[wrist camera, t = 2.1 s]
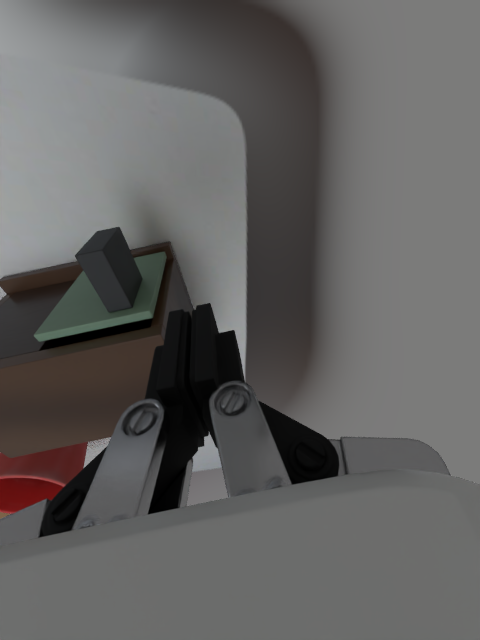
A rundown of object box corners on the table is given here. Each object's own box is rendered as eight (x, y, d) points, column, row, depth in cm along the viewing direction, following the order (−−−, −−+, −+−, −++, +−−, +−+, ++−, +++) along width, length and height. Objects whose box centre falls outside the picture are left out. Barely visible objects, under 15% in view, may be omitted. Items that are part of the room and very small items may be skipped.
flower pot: (5, 430, 38) (-45, 509, 30) (35, 390, 34) (-12, 469, 26) (79, 449, 43) (54, 520, 35) (114, 416, 39) (93, 488, 31)
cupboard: (2, 277, 24) (-121, 375, 15) (170, 241, 24) (153, 317, 15) (67, 355, 31) (9, 458, 22) (199, 327, 31) (200, 418, 21)
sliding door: (58, 223, 21) (-17, 279, 14) (147, 204, 21) (121, 250, 14) (88, 273, 24) (38, 342, 17) (167, 257, 24) (153, 318, 17)
